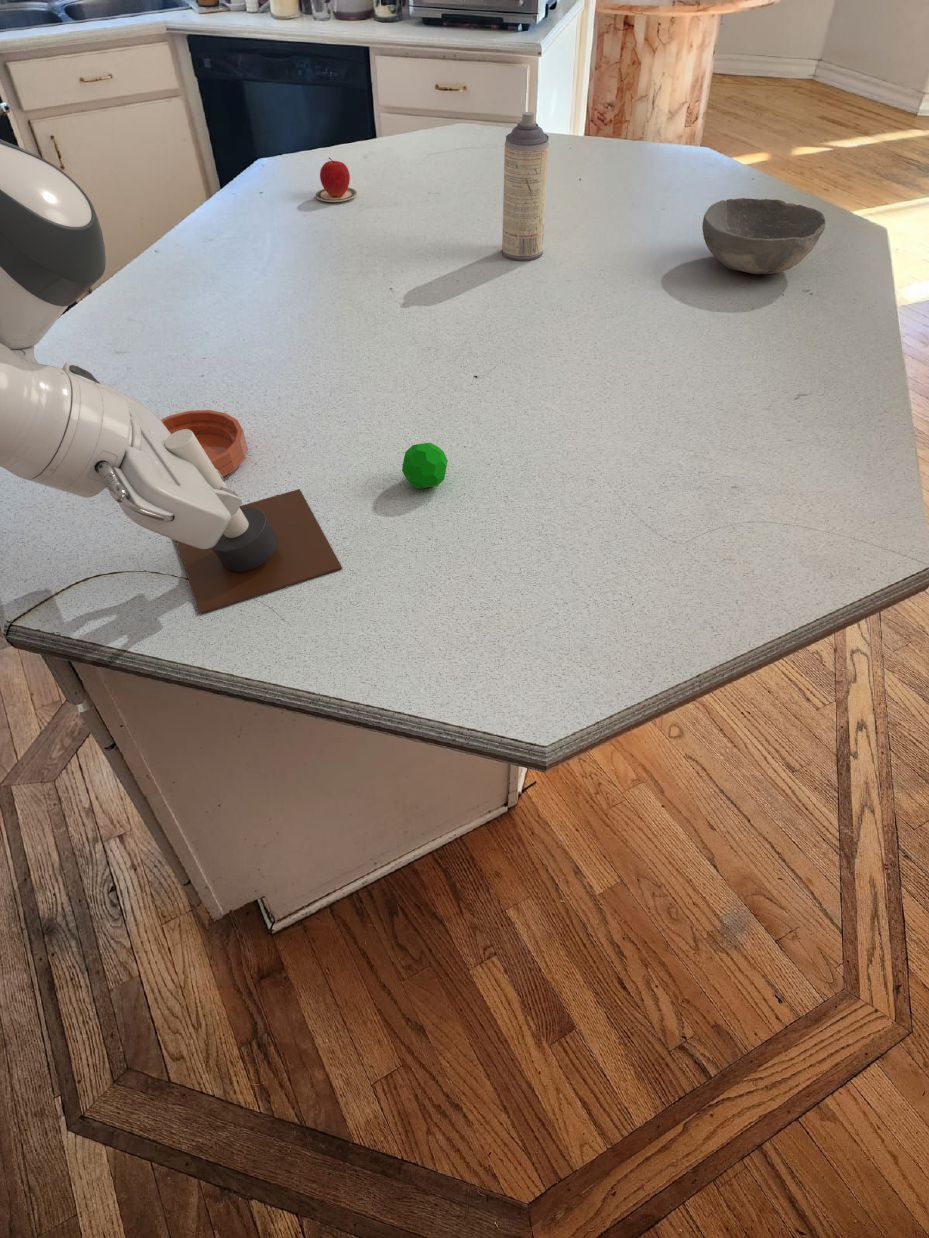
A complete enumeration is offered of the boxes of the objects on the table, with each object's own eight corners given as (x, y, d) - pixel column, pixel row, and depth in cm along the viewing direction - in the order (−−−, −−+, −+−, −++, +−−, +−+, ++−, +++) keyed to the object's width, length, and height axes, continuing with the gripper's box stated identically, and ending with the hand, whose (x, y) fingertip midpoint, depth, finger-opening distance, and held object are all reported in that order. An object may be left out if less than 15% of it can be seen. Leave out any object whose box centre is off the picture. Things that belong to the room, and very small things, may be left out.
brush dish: (155, 502, 82) (146, 479, 80) (137, 447, 90) (129, 425, 87) (259, 473, 86) (253, 451, 84) (234, 422, 93) (228, 401, 91)
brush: (228, 581, 73) (150, 472, 63) (216, 544, 77) (141, 436, 67) (284, 554, 74) (217, 441, 63) (270, 519, 78) (204, 407, 67)
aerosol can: (551, 253, 127) (560, 113, 112) (522, 264, 124) (528, 123, 109) (521, 241, 130) (527, 105, 116) (493, 252, 127) (495, 113, 113)
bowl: (671, 258, 125) (681, 206, 119) (752, 237, 130) (765, 186, 124) (748, 300, 114) (763, 245, 108) (833, 276, 119) (851, 222, 114)
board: (200, 614, 71) (200, 612, 71) (171, 527, 79) (171, 525, 79) (342, 569, 75) (341, 566, 75) (300, 491, 83) (299, 488, 83)
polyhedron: (455, 476, 85) (454, 440, 81) (437, 501, 82) (435, 465, 78) (415, 466, 86) (412, 430, 83) (395, 490, 83) (392, 454, 80)
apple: (323, 188, 150) (318, 151, 145) (362, 191, 148) (358, 153, 144) (310, 203, 144) (304, 164, 139) (350, 205, 143) (345, 167, 138)
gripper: (141, 469, 53) (293, 524, 64) (64, 352, 65) (203, 416, 76) (100, 541, 55) (255, 583, 66) (32, 415, 66) (173, 468, 77)
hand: (227, 493), depth 71 cm, fingers closed on brush, 3 cm apart
